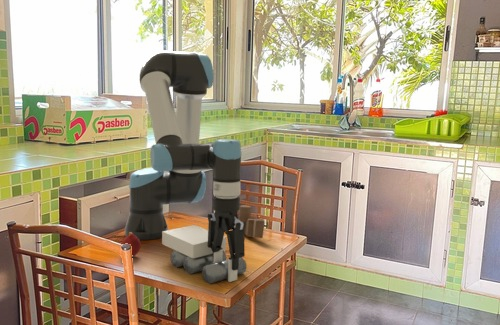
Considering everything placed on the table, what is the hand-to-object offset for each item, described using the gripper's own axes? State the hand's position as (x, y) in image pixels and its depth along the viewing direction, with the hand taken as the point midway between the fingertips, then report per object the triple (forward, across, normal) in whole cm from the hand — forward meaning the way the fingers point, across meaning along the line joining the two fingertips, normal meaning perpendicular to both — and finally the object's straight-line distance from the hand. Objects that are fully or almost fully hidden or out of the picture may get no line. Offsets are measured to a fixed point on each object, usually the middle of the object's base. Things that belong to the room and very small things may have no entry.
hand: (225, 276), depth 135 cm
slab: (-5, -15, 0) cm, 16 cm away
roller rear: (-2, -18, 0) cm, 18 cm away
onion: (0, -31, -12) cm, 33 cm away
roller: (0, 0, 0) cm, 0 cm away
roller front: (0, -11, 0) cm, 11 cm away
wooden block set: (0, -25, +33) cm, 41 cm away
